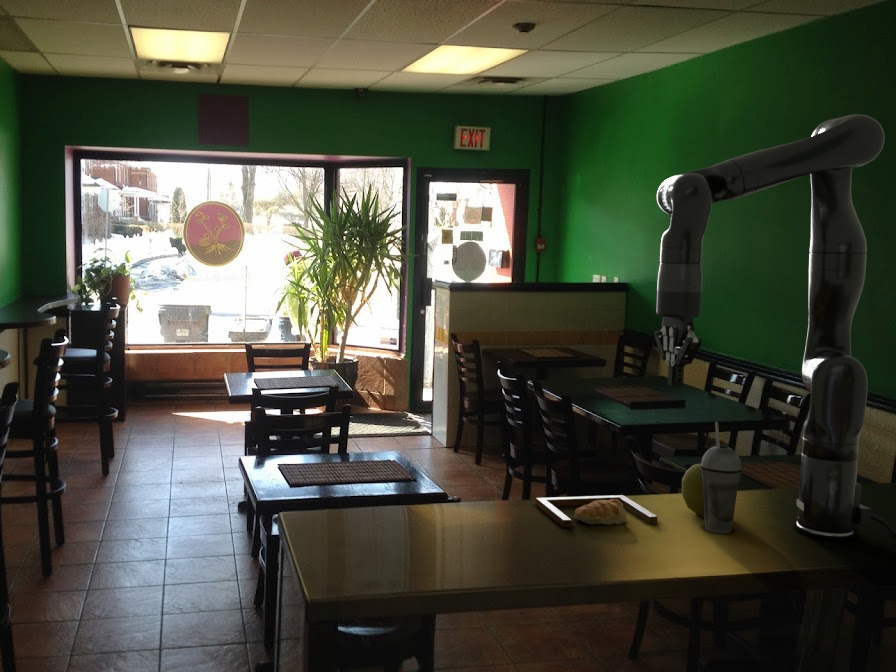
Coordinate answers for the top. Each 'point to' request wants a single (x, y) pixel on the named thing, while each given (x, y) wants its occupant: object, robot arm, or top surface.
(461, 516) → the top surface
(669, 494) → the top surface
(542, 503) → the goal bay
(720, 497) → the beverage cup
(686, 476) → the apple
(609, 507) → the pastry
